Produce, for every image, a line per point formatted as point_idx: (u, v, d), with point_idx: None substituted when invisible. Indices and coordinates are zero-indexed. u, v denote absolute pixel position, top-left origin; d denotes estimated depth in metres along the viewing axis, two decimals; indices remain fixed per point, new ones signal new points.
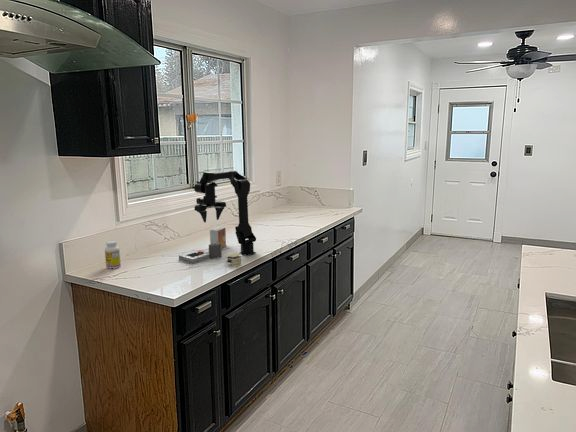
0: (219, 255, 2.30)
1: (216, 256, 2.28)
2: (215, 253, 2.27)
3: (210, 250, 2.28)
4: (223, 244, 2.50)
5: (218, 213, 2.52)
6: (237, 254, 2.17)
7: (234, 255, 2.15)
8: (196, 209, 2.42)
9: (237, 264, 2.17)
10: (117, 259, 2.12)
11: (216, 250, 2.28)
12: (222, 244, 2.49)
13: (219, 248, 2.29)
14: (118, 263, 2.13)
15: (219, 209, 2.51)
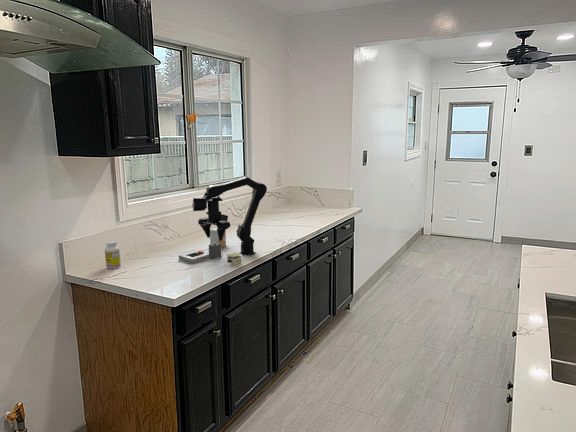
0: (219, 255, 2.30)
1: (216, 256, 2.28)
2: (215, 253, 2.27)
3: (210, 250, 2.28)
4: (223, 244, 2.50)
5: None
6: (237, 254, 2.17)
7: (234, 255, 2.15)
8: None
9: (237, 264, 2.17)
10: (117, 259, 2.12)
11: (216, 250, 2.28)
12: (222, 244, 2.49)
13: (219, 248, 2.29)
14: (118, 263, 2.13)
15: None
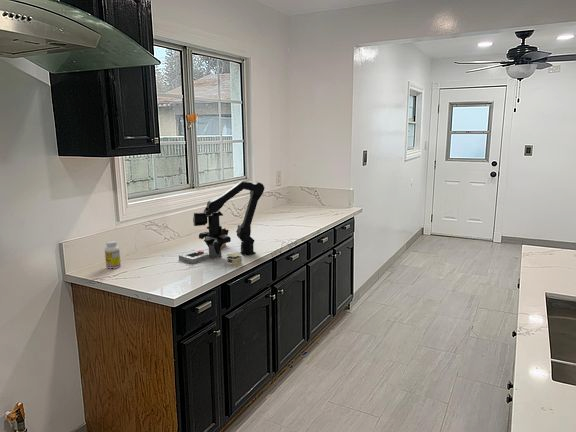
0: (219, 255, 2.30)
1: (216, 256, 2.28)
2: (215, 253, 2.27)
3: (210, 250, 2.28)
4: (223, 244, 2.50)
5: None
6: (237, 254, 2.17)
7: (234, 255, 2.15)
8: None
9: (237, 264, 2.17)
10: (117, 259, 2.12)
11: None
12: (222, 244, 2.49)
13: None
14: (118, 263, 2.13)
15: None
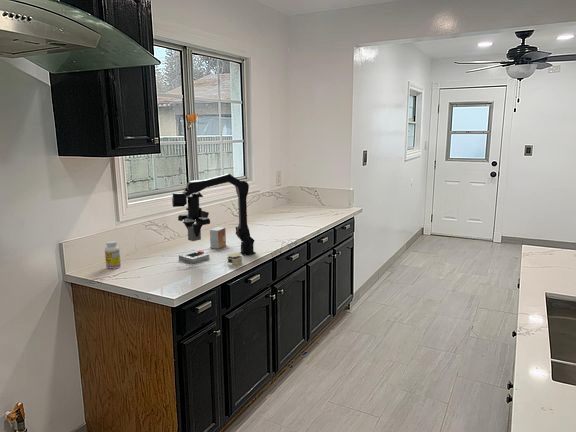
0: (198, 238, 2.24)
1: (195, 238, 2.22)
2: (194, 235, 2.21)
3: (189, 232, 2.22)
4: (223, 244, 2.50)
5: None
6: (238, 254, 2.17)
7: (235, 255, 2.15)
8: None
9: (238, 264, 2.17)
10: (117, 259, 2.12)
11: None
12: (222, 244, 2.49)
13: None
14: (118, 263, 2.13)
15: None
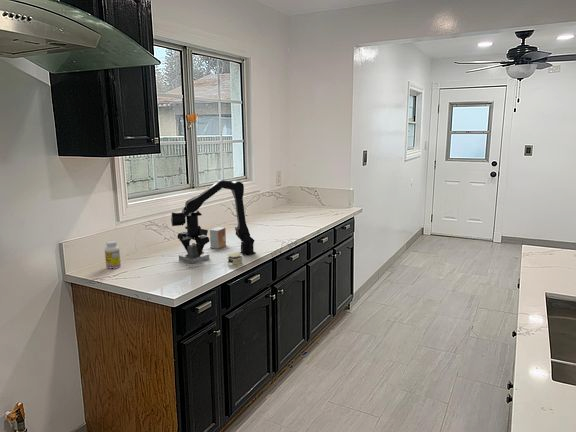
0: None
1: None
2: (194, 254, 2.23)
3: (189, 251, 2.24)
4: (223, 244, 2.50)
5: None
6: (238, 254, 2.17)
7: (235, 255, 2.15)
8: None
9: (238, 264, 2.17)
10: (117, 259, 2.12)
11: (195, 252, 2.24)
12: (222, 244, 2.49)
13: None
14: (118, 263, 2.13)
15: None
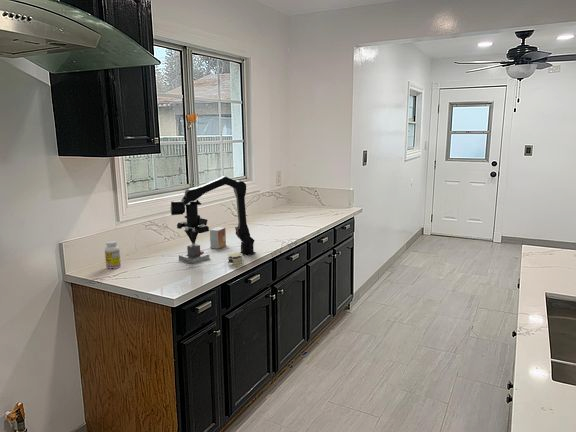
0: None
1: None
2: (194, 254, 2.23)
3: (189, 251, 2.24)
4: (223, 244, 2.50)
5: None
6: (238, 254, 2.17)
7: (235, 255, 2.15)
8: None
9: (238, 264, 2.17)
10: (117, 259, 2.12)
11: (195, 252, 2.24)
12: (222, 244, 2.49)
13: (198, 249, 2.25)
14: (118, 263, 2.13)
15: None
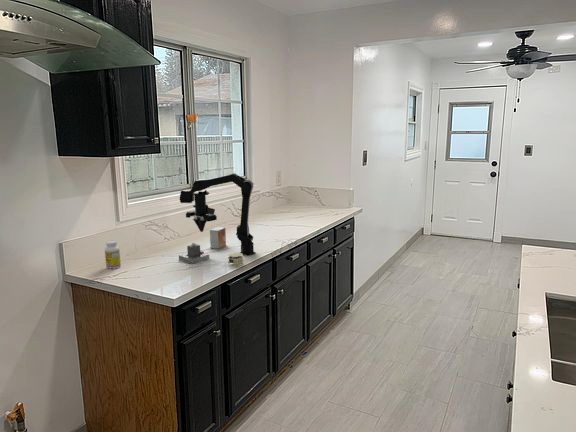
0: None
1: None
2: (194, 254, 2.23)
3: (189, 251, 2.24)
4: (223, 244, 2.50)
5: None
6: (239, 254, 2.17)
7: (236, 255, 2.15)
8: None
9: (239, 264, 2.17)
10: (117, 259, 2.12)
11: (195, 252, 2.24)
12: (222, 244, 2.49)
13: (198, 249, 2.25)
14: (118, 263, 2.13)
15: None
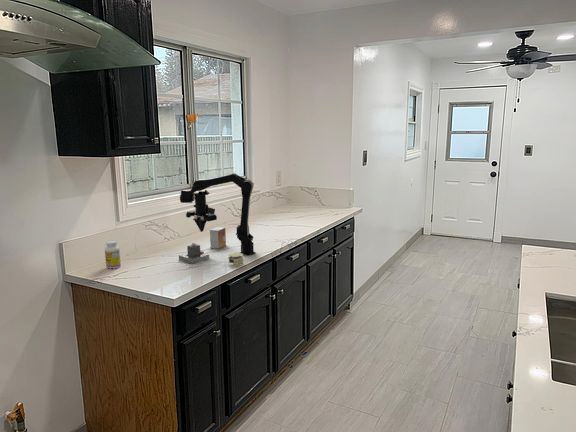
0: None
1: None
2: (194, 254, 2.23)
3: (189, 251, 2.24)
4: (223, 244, 2.50)
5: None
6: (239, 254, 2.17)
7: (236, 255, 2.15)
8: None
9: (239, 264, 2.17)
10: (117, 259, 2.12)
11: (195, 252, 2.24)
12: (222, 244, 2.49)
13: (198, 249, 2.25)
14: (118, 263, 2.13)
15: None
